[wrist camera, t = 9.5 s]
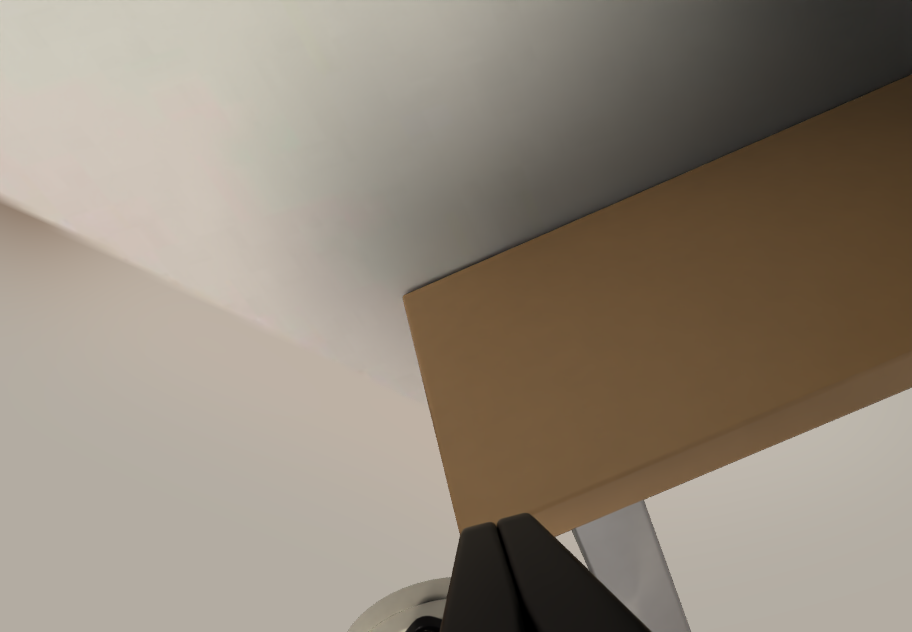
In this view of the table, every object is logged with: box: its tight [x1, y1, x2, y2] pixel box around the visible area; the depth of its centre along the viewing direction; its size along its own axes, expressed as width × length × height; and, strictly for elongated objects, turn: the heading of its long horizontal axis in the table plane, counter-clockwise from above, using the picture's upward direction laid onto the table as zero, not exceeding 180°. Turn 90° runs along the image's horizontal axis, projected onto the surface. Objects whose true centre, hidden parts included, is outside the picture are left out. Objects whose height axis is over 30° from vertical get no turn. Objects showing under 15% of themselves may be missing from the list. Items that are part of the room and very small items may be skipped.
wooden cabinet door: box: [403, 75, 912, 632], centre depth 19 cm, size 6×17×9 cm, turn 111°
